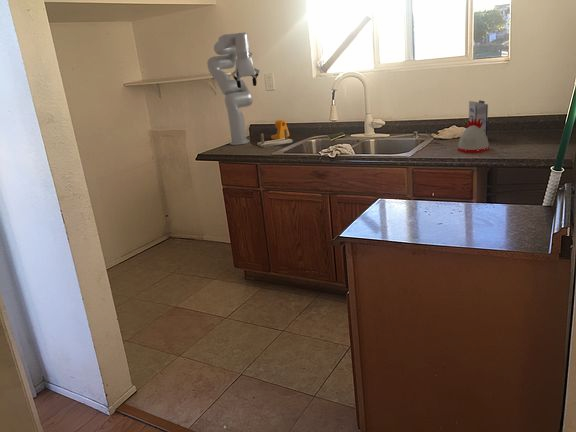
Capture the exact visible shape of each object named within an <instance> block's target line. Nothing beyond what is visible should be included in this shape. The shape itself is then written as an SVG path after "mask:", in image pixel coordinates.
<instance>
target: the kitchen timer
mask: <svg viewBox="0 0 576 432" xmlns="http://www.w3.org/2000/svg"><path fill="white" fill-rule="evenodd" d="M467 122H468V123H466V122H465V123H464V124H465V130H463V132H462V133H461V135H460V137H459V140H458V144H457V152H458V153H459V152H460V153H463V154H480V153H481V154H482V153H485V152H488V151H489V150H490V143H489V140H488V135H487V136H486V134H485V132H484V131H483V129H481V126H482V124H483V122H482V123H481V124H480V119H479V120H478V123H477V120H476V119H475V121H473V118H472V120H471V122H470V121H469V120H468V121H467ZM487 148H488V149H487ZM484 149H485V150H484ZM465 150H466V151H465ZM477 150H479V151H477Z"/></svg>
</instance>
